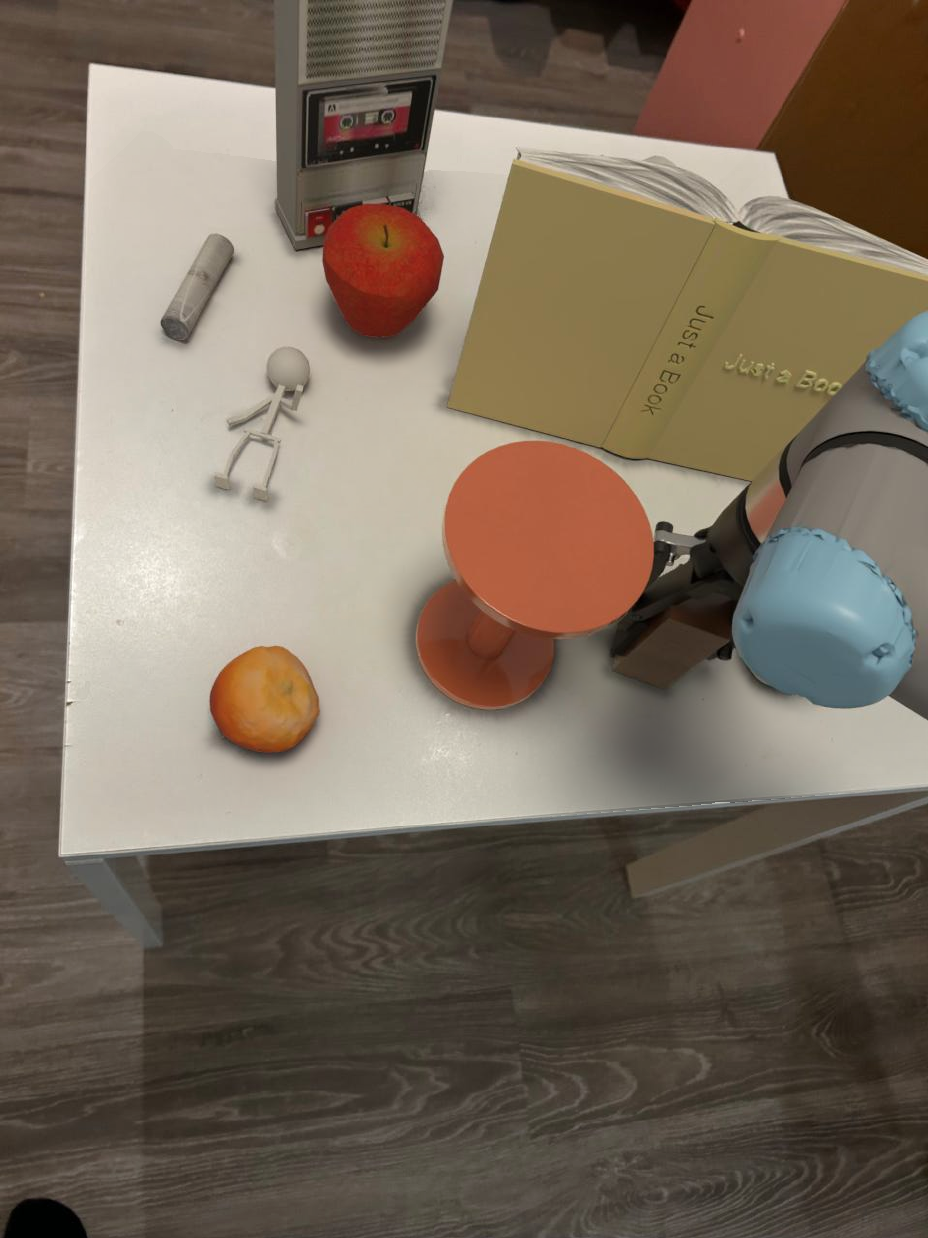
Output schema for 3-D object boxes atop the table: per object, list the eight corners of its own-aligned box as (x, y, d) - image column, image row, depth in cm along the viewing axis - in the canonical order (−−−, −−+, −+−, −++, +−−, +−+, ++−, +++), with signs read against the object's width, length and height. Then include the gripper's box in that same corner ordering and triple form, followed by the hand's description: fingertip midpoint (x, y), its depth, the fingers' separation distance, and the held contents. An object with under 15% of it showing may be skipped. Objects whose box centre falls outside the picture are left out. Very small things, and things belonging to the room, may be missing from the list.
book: (444, 414, 79) (511, 169, 58) (453, 361, 83) (519, 114, 63) (791, 498, 83) (966, 298, 63) (783, 443, 88) (945, 239, 67)
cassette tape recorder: (296, 253, 83) (299, -12, 61) (275, 210, 85) (270, -64, 62) (419, 230, 88) (464, -24, 65) (396, 189, 90) (433, -72, 67)
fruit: (186, 662, 63) (237, 627, 58) (276, 675, 69) (330, 644, 63) (185, 765, 60) (238, 738, 55) (279, 770, 66) (336, 746, 60)
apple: (360, 383, 79) (372, 289, 68) (297, 306, 81) (298, 202, 70) (449, 340, 83) (474, 245, 72) (387, 267, 85) (402, 164, 74)
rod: (209, 249, 81) (206, 227, 79) (235, 259, 82) (233, 237, 79) (160, 336, 76) (156, 315, 74) (189, 346, 77) (185, 325, 74)
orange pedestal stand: (540, 744, 68) (631, 663, 50) (381, 688, 67) (415, 586, 49) (577, 601, 74) (671, 483, 56) (431, 548, 73) (479, 411, 55)
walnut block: (664, 689, 72) (730, 640, 62) (611, 670, 72) (668, 618, 61) (673, 640, 74) (739, 584, 64) (622, 621, 74) (680, 562, 63)
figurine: (196, 453, 67) (255, 310, 72) (205, 488, 72) (259, 353, 78) (270, 476, 67) (324, 332, 72) (273, 508, 73) (323, 373, 78)
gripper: (929, 522, 53) (748, 647, 74) (673, 425, 52) (562, 580, 73) (924, 621, 50) (736, 723, 71) (651, 521, 49) (542, 654, 70)
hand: (648, 650), depth 72 cm, fingers closed on walnut block, 5 cm apart
